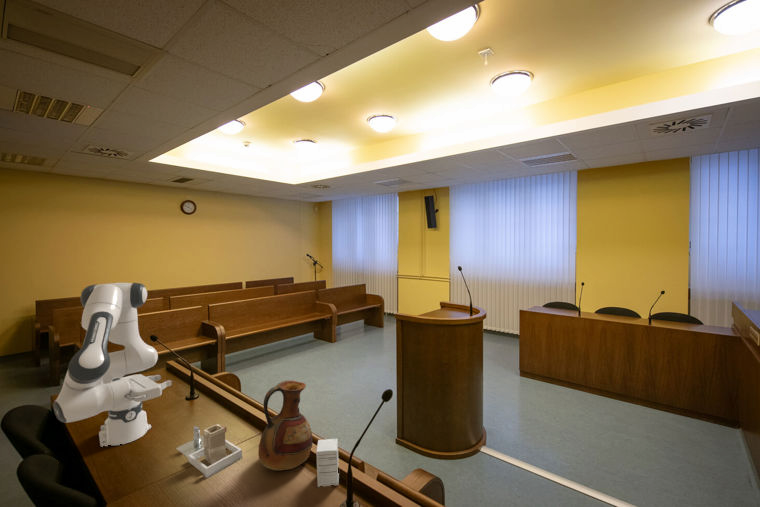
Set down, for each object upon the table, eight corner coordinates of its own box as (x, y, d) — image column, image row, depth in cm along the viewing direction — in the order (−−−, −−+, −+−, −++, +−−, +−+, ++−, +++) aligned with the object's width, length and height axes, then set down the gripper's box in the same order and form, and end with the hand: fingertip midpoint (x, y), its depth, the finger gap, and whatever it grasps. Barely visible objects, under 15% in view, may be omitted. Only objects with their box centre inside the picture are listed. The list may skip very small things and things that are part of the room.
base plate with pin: (175, 450, 140) (174, 429, 140) (205, 436, 150) (204, 417, 149) (189, 461, 133) (188, 439, 133) (218, 445, 142) (218, 425, 142)
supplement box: (318, 473, 124) (317, 439, 123) (339, 471, 124) (338, 437, 124) (316, 487, 116) (315, 451, 116) (338, 485, 117) (337, 449, 117)
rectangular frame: (188, 464, 131) (188, 455, 131) (223, 446, 142) (223, 438, 142) (206, 478, 122) (206, 468, 122) (242, 458, 134) (241, 449, 134)
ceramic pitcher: (318, 467, 127) (316, 388, 126) (262, 485, 118) (259, 401, 117) (305, 440, 145) (303, 371, 144) (256, 454, 136) (253, 381, 135)
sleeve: (204, 460, 132) (203, 430, 131) (222, 450, 137) (221, 421, 137) (211, 465, 128) (210, 434, 128) (229, 455, 134) (228, 426, 134)
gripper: (131, 391, 109) (177, 377, 120) (110, 377, 121) (154, 366, 132) (131, 410, 109) (178, 394, 120) (111, 395, 121) (154, 381, 132)
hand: (165, 379), depth 126 cm, fingers open, 8 cm apart
